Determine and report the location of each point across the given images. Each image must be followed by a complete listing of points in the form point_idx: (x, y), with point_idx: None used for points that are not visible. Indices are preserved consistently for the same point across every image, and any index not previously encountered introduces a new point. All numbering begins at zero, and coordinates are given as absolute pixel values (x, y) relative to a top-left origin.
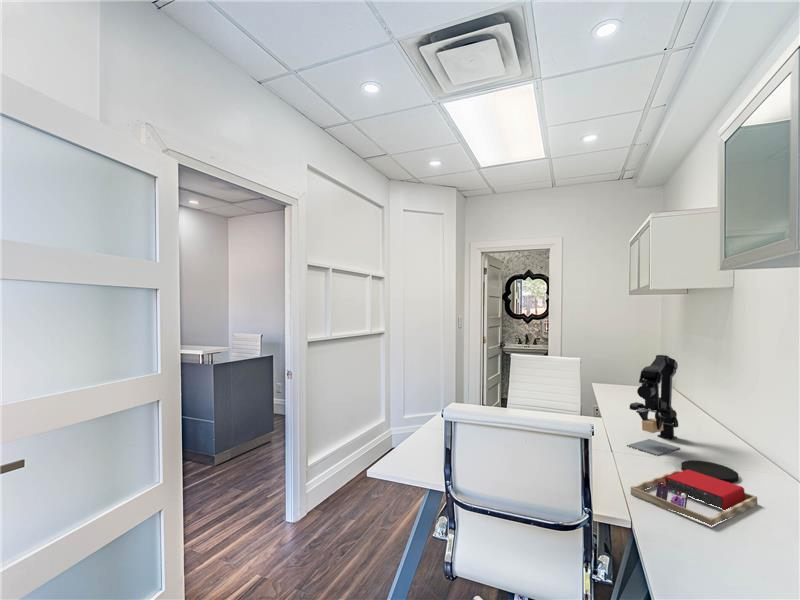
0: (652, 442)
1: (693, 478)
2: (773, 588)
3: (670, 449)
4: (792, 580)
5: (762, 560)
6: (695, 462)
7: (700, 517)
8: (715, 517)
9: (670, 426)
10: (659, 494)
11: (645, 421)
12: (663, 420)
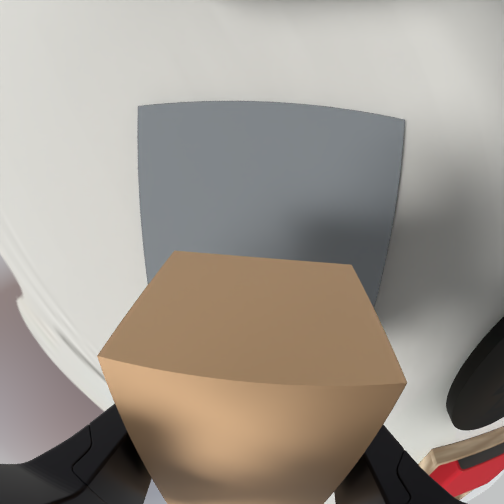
0: (205, 177)
1: (464, 483)
2: (478, 494)
3: (377, 232)
4: (494, 482)
5: (485, 484)
6: (498, 360)
7: None
8: (466, 494)
9: None
10: None
11: None
12: (433, 485)
